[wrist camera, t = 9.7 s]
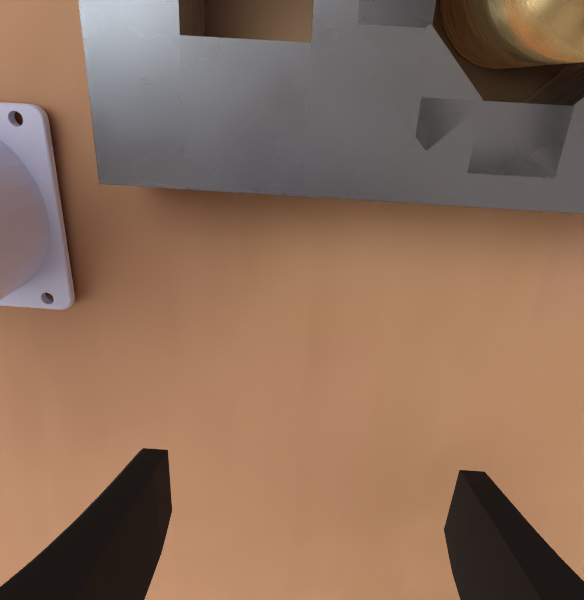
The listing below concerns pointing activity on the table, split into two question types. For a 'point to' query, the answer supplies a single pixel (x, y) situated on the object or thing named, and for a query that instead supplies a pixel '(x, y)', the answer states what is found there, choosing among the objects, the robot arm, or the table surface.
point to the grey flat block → (322, 111)
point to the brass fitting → (515, 31)
